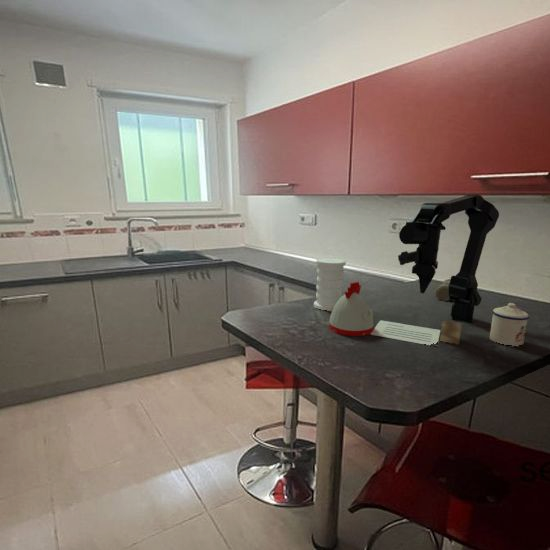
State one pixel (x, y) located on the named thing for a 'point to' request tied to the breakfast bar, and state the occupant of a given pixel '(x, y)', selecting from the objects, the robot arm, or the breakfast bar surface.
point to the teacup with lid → (508, 325)
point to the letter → (406, 332)
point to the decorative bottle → (443, 291)
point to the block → (450, 332)
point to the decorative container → (329, 282)
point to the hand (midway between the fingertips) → (422, 293)
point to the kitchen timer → (351, 314)
